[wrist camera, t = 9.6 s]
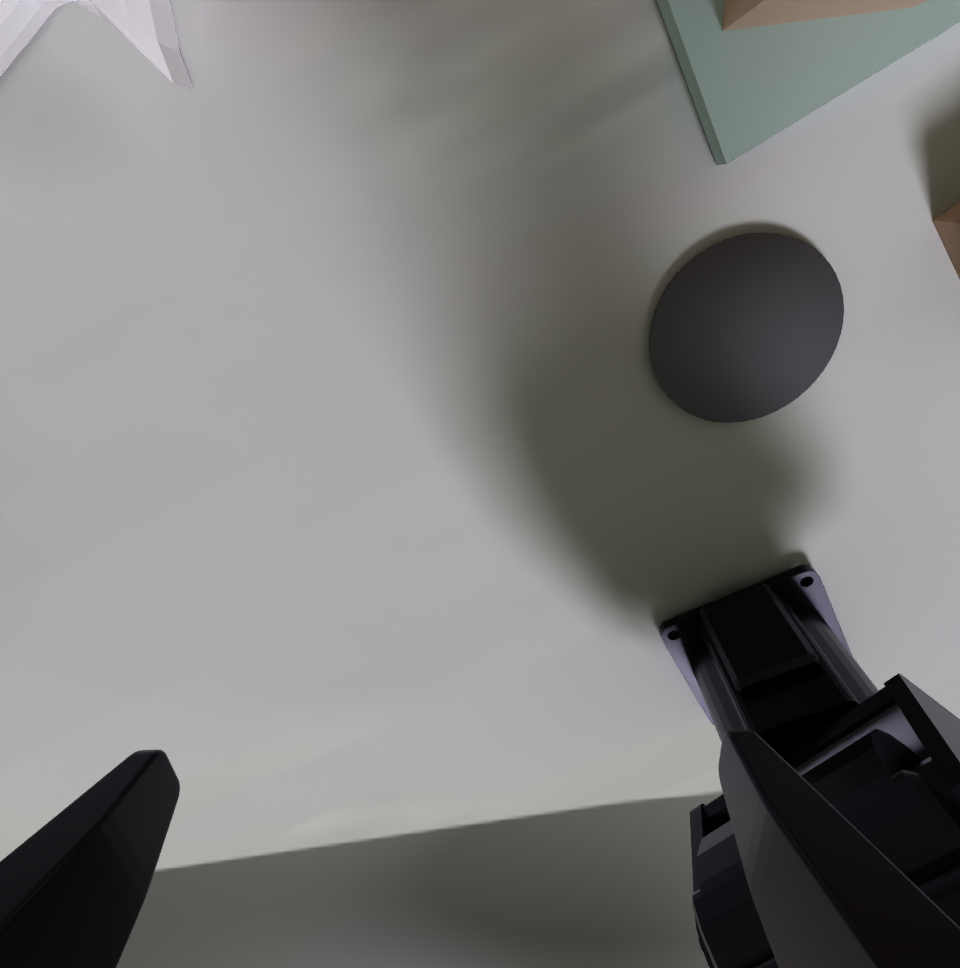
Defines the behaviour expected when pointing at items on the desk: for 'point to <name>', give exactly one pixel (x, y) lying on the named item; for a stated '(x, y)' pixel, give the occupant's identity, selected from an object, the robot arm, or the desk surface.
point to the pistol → (123, 5)
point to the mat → (785, 63)
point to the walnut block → (950, 233)
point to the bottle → (800, 10)
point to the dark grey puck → (746, 327)
